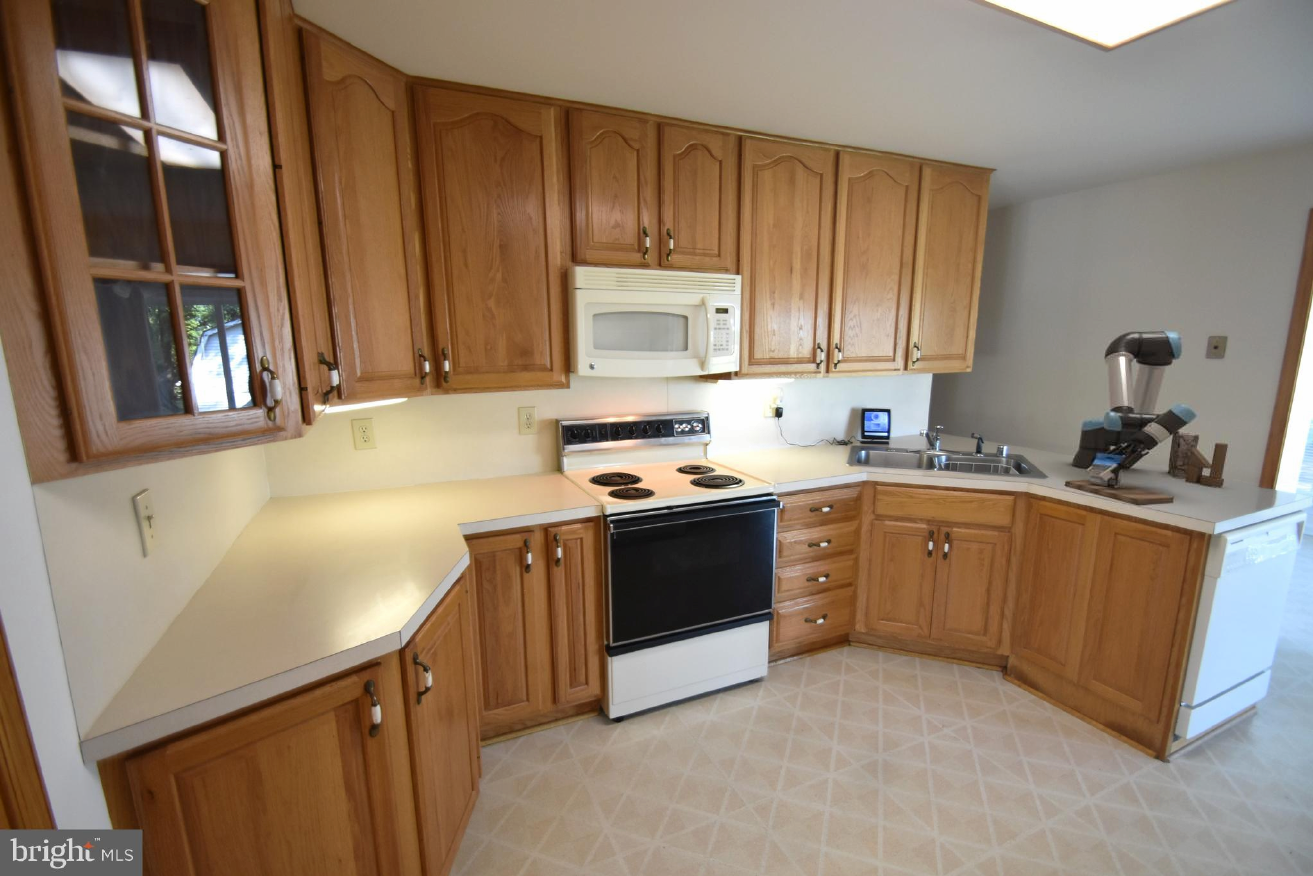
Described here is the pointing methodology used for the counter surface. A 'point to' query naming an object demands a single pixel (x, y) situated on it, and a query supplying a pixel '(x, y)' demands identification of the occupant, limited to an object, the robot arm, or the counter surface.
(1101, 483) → the label tape box
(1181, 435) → the stone block
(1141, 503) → the walnut board
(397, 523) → the counter surface
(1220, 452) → the wooden block
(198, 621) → the counter surface
